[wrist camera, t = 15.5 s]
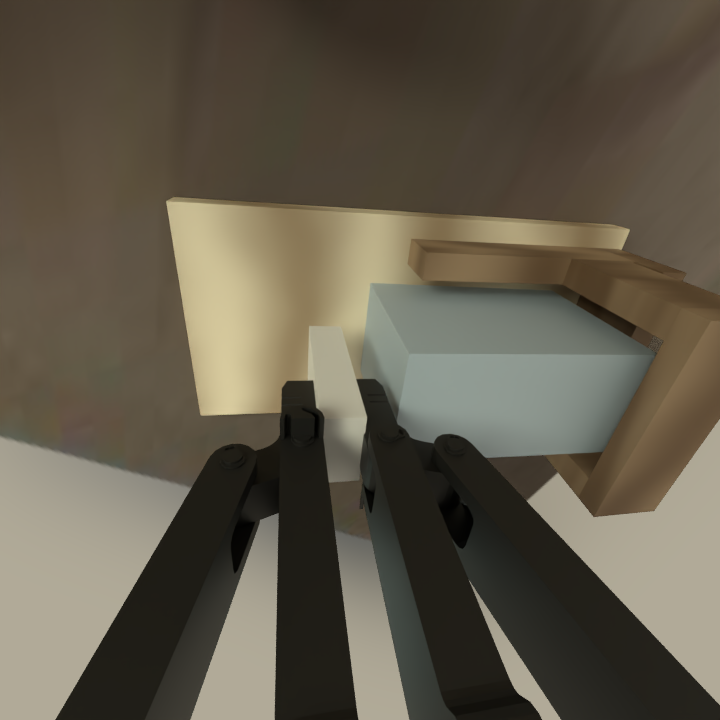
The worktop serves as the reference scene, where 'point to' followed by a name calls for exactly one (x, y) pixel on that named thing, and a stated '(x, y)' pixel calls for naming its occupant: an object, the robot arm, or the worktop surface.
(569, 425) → the pale blue tall block
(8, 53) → the worktop surface
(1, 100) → the worktop surface
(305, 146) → the worktop surface
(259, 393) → the rail board
